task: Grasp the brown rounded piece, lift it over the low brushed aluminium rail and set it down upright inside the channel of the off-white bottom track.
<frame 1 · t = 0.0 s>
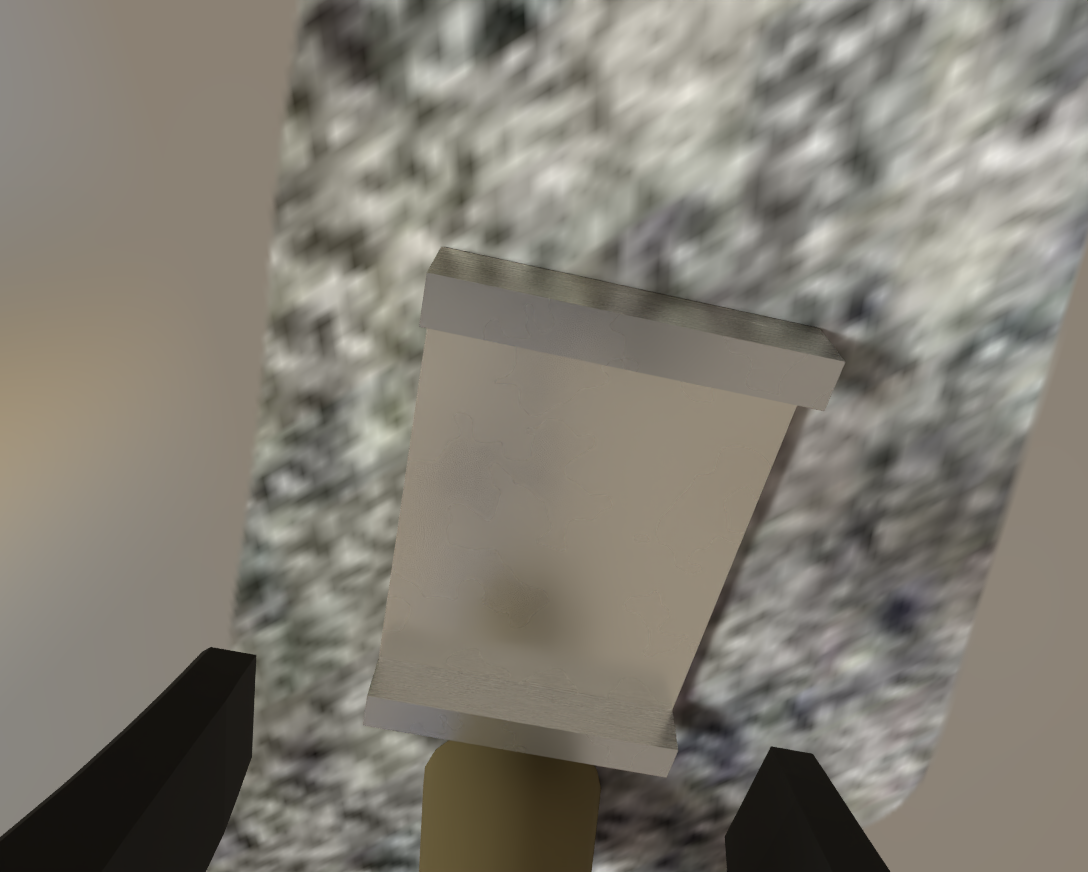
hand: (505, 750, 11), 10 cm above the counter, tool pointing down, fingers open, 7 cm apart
brown rounded piece: (512, 781, 27), on the counter
bottom track: (568, 524, 21), on the counter
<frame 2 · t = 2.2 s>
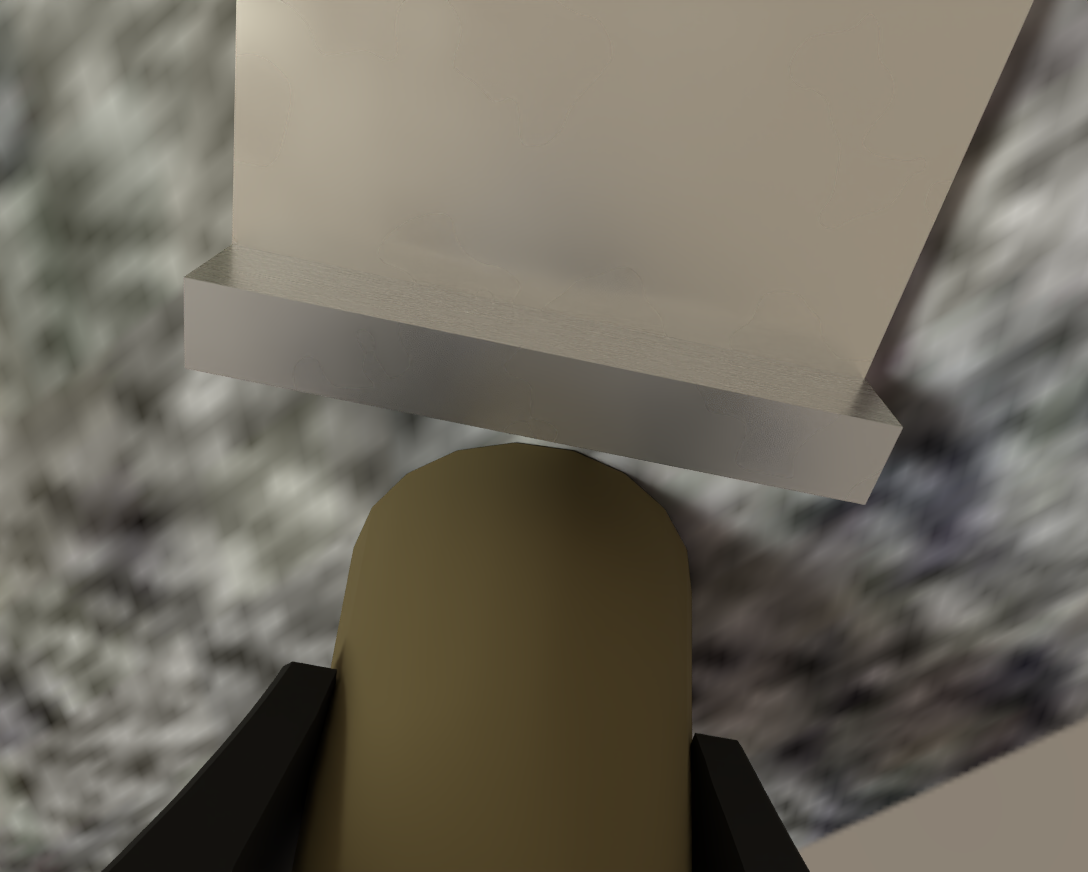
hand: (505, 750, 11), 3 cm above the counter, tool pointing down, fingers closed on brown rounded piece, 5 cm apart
brown rounded piece: (521, 584, 14), on the counter, touching gripper
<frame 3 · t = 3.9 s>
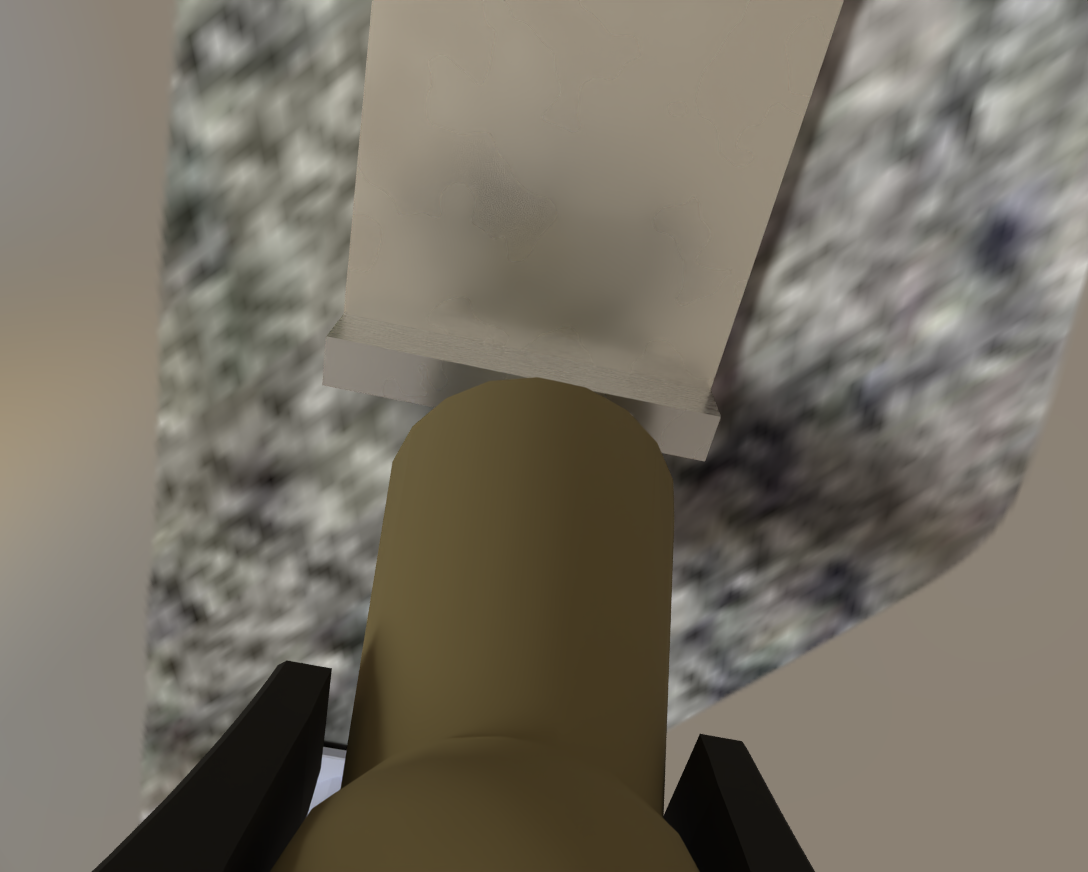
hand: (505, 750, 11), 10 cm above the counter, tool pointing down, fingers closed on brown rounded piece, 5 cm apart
brown rounded piece: (531, 503, 17), point 4 cm above the counter, touching gripper
bottom track: (583, 103, 17), on the counter
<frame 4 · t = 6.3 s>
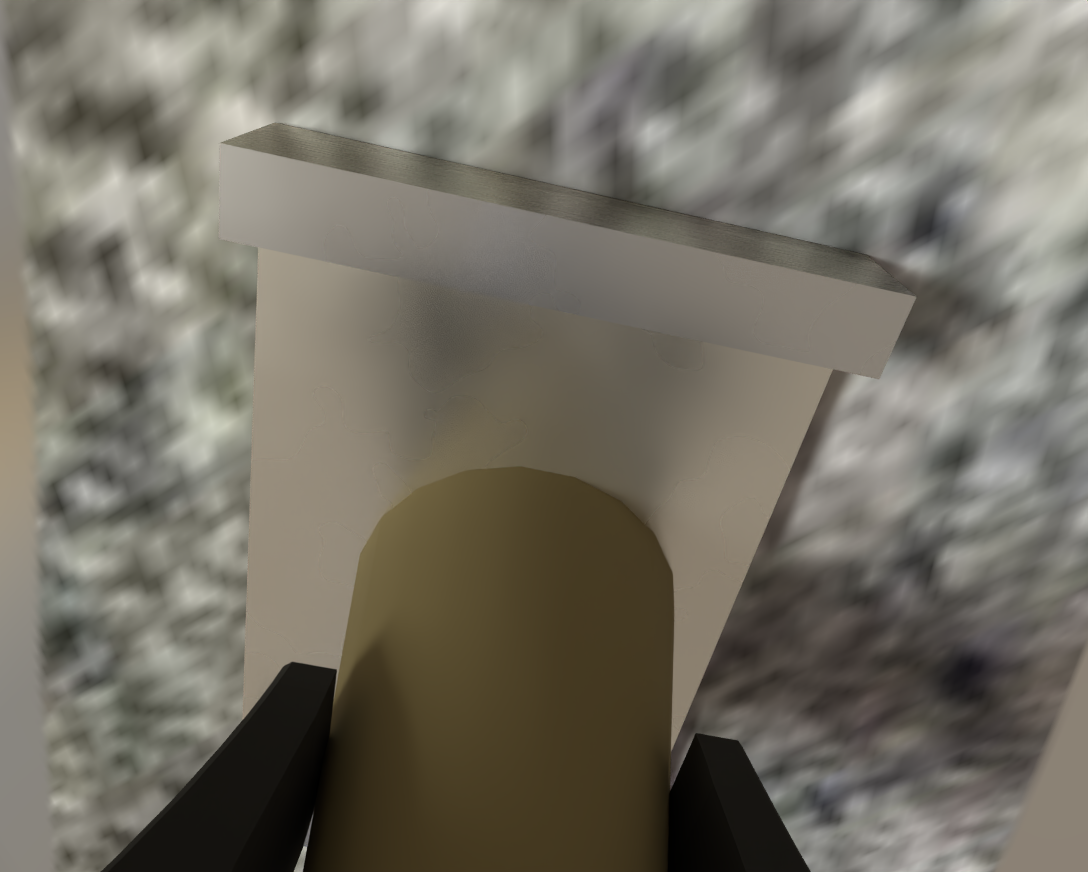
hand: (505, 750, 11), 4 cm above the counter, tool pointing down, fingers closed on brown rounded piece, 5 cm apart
brown rounded piece: (515, 596, 15), resting on bottom track, touching gripper
bottom track: (497, 551, 15), on the counter
when the fingers open (4 cm above the counter, at t = 7.7 s): brown rounded piece stays where it is, resting on bottom track.
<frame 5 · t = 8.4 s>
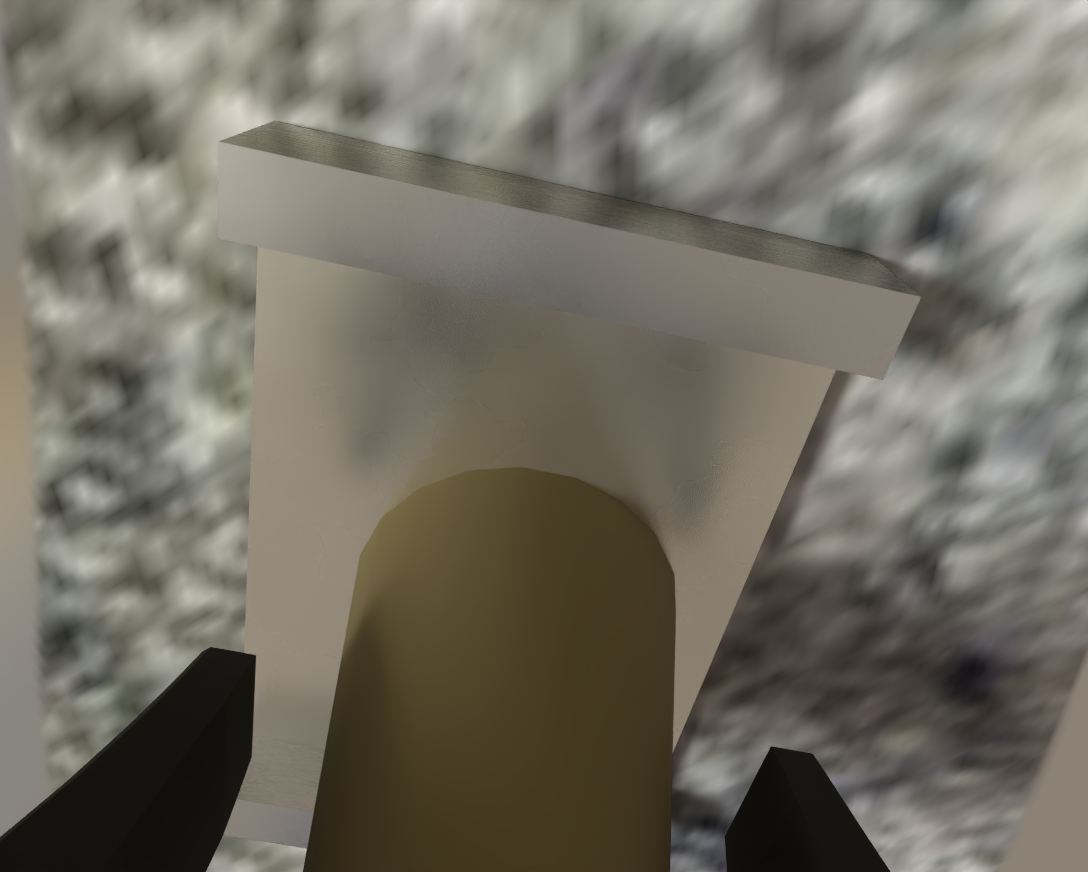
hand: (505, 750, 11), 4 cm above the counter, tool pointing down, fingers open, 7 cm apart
brown rounded piece: (515, 597, 15), resting on bottom track
bottom track: (498, 552, 15), on the counter
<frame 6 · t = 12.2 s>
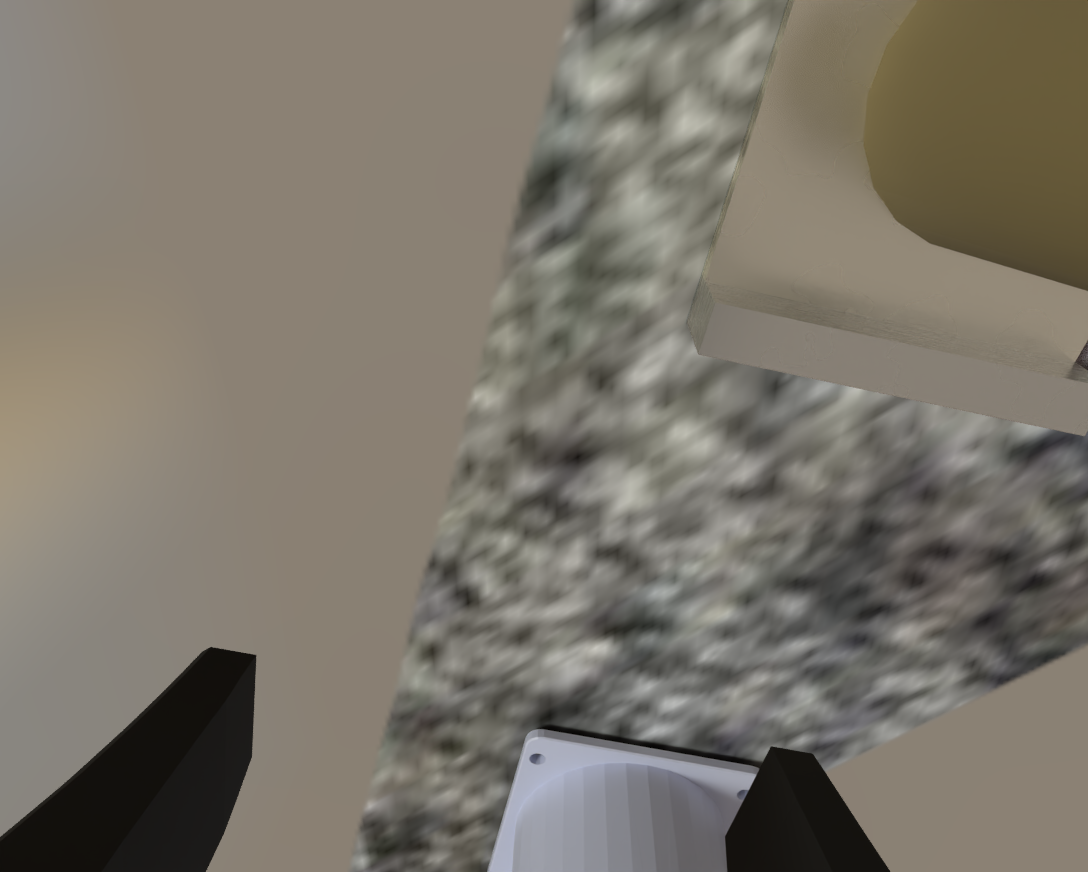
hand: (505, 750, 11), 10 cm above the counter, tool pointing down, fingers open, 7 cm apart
brown rounded piece: (1012, 103, 16), resting on bottom track
bottom track: (999, 57, 16), on the counter
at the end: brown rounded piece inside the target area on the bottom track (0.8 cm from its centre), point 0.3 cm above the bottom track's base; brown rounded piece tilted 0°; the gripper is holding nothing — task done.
